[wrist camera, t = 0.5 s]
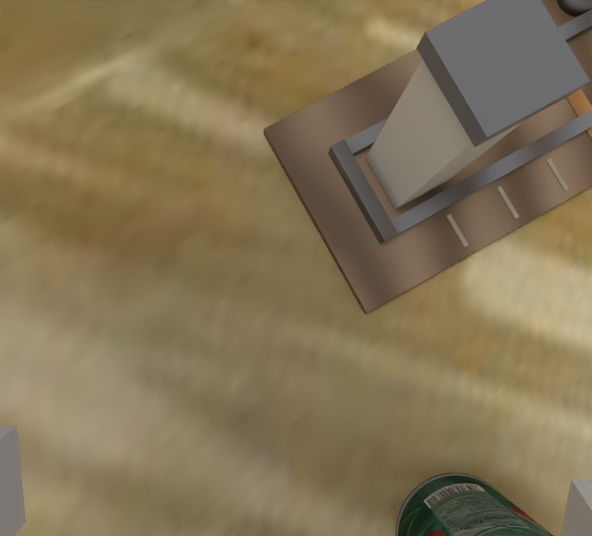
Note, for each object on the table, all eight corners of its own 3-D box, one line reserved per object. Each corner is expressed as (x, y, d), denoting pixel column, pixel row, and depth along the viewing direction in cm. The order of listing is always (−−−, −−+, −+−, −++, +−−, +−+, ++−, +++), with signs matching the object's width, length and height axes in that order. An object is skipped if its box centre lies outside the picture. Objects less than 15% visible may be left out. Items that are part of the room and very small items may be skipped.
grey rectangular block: (393, 215, 34) (487, 136, 19) (359, 156, 35) (424, 32, 19) (452, 183, 35) (590, 80, 20) (418, 124, 35) (527, -22, 20)
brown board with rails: (364, 312, 35) (371, 312, 32) (263, 134, 36) (263, 120, 33) (702, 122, 37) (733, 108, 35) (600, -42, 38) (623, -67, 35)
